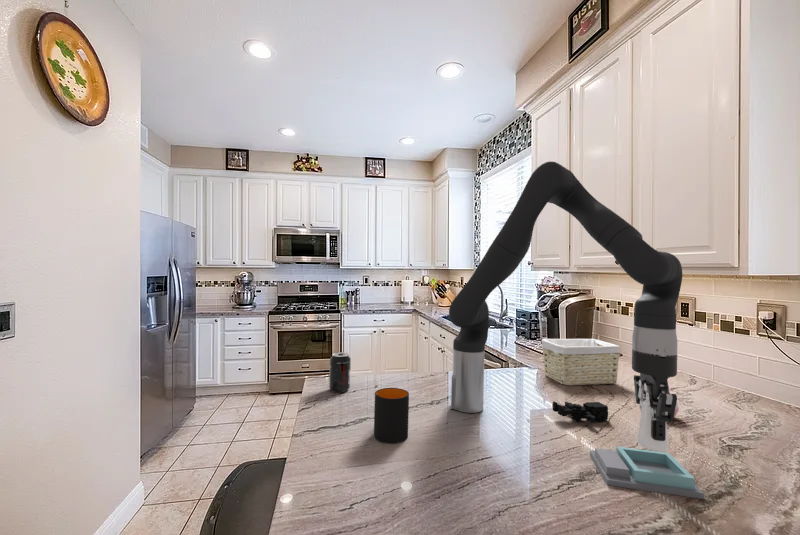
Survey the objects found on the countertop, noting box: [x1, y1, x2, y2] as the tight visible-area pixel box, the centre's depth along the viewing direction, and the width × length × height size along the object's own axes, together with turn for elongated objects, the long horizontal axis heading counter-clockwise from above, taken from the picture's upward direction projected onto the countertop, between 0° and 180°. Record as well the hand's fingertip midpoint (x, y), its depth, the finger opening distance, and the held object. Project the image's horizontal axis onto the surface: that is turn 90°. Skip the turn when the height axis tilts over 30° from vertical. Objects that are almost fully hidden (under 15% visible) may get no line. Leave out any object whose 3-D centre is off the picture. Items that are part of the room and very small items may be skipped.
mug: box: [373, 387, 410, 445], centre depth 90 cm, size 8×12×10 cm
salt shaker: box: [636, 397, 670, 452], centre depth 74 cm, size 5×5×11 cm
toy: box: [552, 401, 609, 424], centre depth 101 cm, size 12×5×15 cm
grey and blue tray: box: [589, 446, 705, 500], centre depth 74 cm, size 16×12×3 cm
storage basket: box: [541, 338, 621, 386], centre depth 141 cm, size 24×16×15 cm
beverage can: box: [328, 351, 352, 394], centre depth 121 cm, size 7×7×12 cm
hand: (652, 434), depth 74 cm, fingers closed on salt shaker, 4 cm apart
